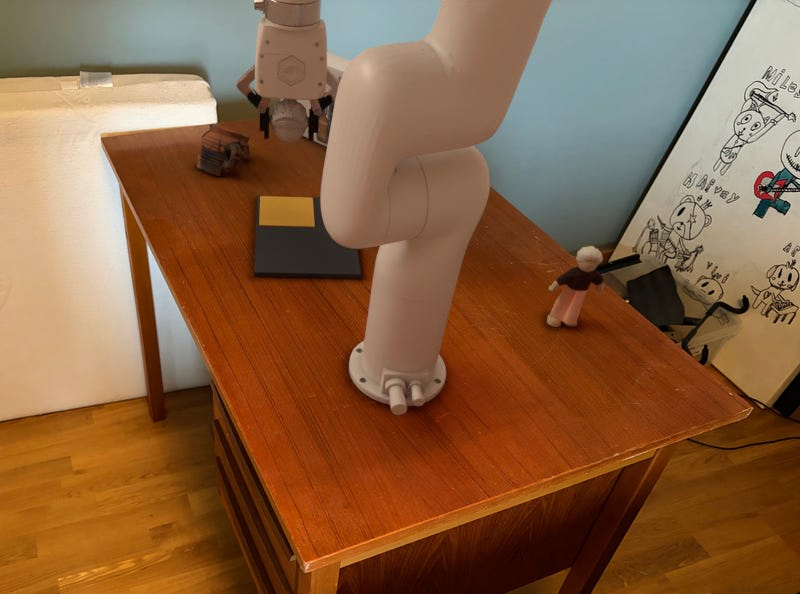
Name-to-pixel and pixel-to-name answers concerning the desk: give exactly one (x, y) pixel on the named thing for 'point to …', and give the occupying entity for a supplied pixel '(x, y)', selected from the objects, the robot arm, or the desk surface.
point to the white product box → (325, 118)
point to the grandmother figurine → (575, 287)
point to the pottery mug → (231, 155)
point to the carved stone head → (289, 120)
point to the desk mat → (298, 241)
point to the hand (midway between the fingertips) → (288, 134)
